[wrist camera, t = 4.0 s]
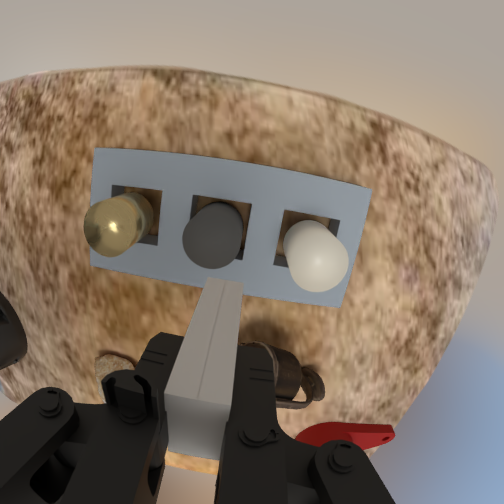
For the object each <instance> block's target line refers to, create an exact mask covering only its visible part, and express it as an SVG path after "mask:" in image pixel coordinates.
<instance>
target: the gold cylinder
mask: <svg viewBox="0 0 504 504" xmlns="http://www.w3.org/2000/svg"><path fill="white" fill-rule="evenodd" d="M153 221H154V213H153V209H152V206H151V204H150V203H149V201H148V200H147V199H146V198H145V197H144V196H142V195H141V194H138V193H135V192H128V193H124V194H121V195H118V196H115V197H112V198H109V199H106V200H103V201H100V202H97V203H95V204H94V205H92V206H91V207H90V209H89V210H88V211H87V213H86V216H85V219H84V233H85V237H86V239H87V242H88V243H89V245H90V246H91V248H92V249H93V250H94V251H95V252H97V253H98V254H100V255H102V256H105V257H116V256H119V255H121V254H122V253H124V252H125V251H126V250H127V249H129V248H130V247H131V246H133V245H134V244H135V243H136V242H138V241H139V240H140V239H142V238H143V237H144V236H145V235H147V234H148V233H149V231H150V230H151V228H152V226H153Z"/></svg>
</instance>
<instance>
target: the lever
mask: <svg viewBox="0 0 504 504" xmlns="http://www.w3.org/2000/svg"><path fill="white" fill-rule="evenodd" d="M394 437H395V433H394V431H393V428H392V426H391V425H380V424H355V423H341V422H326V423H320V424H316V425H313V426H311V427H308V428H306V429H305V430H303V431H302V432H300V433H299V434H298V435H297V436H296V438H295V440H297V441H300V442H303V443H307V444H310V445H314V446H317V447H320V446H321V445H322V444H324V443H326V442H328V441H331V440H341V439H342V440H346V441H350V442H352V443H354V444H356V445H358V446H359V447H360V448H361V449H362V450H365V449H369V448H372V447H376V446H379V445H382V444H385V443H387V442H389V441H391V440H392V439H393V438H394Z"/></svg>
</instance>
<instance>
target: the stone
mask: <svg viewBox="0 0 504 504" xmlns="http://www.w3.org/2000/svg"><path fill="white" fill-rule="evenodd" d="M123 369H129V370H135V367H134V366H133V364H132V363H131V362H129V361H128V360H127V359H124V358H122V357H118V356H115V355H110V354H108V355H104V356H100V357H96V358H95V372H96V373H95V376H96V379H97V383H98V391H99V394H100V396H101V398H102V400H103V402H104V403H106V401H105V397H104V393H103V389H102V385H101V380H102V379H103V378H104V377H105V376H106V375H107V374H109V373H112V372H114V371H116V370H123Z"/></svg>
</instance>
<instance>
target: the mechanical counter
mask: <svg viewBox="0 0 504 504" xmlns="http://www.w3.org/2000/svg"><path fill="white" fill-rule="evenodd" d="M240 345H241V346H248V347H255V348H263V349H267V351H268V352H269V354H270V355H271V357H272V359H273V365H274V383H275V396H276V408H287V409H302V408H305V407H307V406H308V405H309V404H310V403H311V402H312V400H313V401H320V400H322V399H323V398H324V396H325V387H324V383H323V381H322V379H321V377H320V376H319V375H318V374H317V373H315V372H314V371H313V370H311V369H309V368H301V366H300V363H299V361H298V360H297V358H296V357H295V356H294V355H293V354H292V353H290V352H288V351H286V350H282V349H279V348H276V347H274V346H271V345H268V344H266V343H264V342H260V341H252V342H248V343H246V344H245V343H242V344H240ZM300 385H301V387H302V389H303V391H304V392H305V394H306V398H307V399H306V401H305V402H298V401H292V400H293V398H294V397H295V396H296V394H297V392H298V391H299V388H300Z"/></svg>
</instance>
